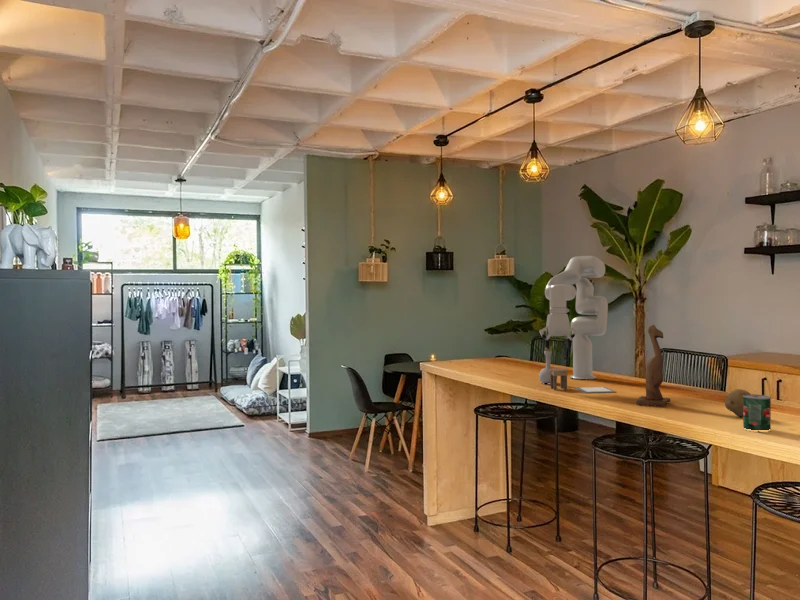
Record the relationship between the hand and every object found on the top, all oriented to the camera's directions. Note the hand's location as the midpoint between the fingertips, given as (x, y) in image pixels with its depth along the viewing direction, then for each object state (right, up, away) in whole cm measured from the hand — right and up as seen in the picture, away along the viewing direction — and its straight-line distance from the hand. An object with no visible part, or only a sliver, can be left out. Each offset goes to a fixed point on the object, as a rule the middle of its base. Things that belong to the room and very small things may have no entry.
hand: (558, 348), depth 293 cm
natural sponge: (+49, -20, -65) cm, 84 cm away
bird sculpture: (+28, -20, -39) cm, 52 cm away
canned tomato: (+44, -20, -85) cm, 98 cm away
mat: (+16, -19, -5) cm, 25 cm away
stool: (0, -19, +1) cm, 19 cm away
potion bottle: (0, -19, +18) cm, 26 cm away
